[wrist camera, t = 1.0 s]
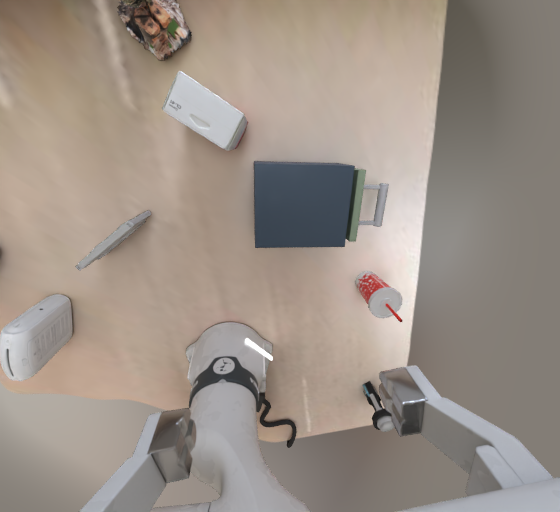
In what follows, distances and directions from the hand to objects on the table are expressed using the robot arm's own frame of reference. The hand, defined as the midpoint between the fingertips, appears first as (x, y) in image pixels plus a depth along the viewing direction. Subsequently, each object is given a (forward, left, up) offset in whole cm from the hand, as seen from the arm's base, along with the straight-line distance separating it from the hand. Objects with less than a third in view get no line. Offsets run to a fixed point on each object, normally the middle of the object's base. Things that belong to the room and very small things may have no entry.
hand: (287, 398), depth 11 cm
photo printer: (-21, +39, -39) cm, 59 cm away
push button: (-47, -28, -39) cm, 68 cm away
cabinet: (+2, -6, -39) cm, 40 cm away
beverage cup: (-15, -22, -39) cm, 48 cm away
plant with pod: (+27, +15, -39) cm, 50 cm away
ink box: (+14, +7, -39) cm, 42 cm away
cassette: (-4, +24, -39) cm, 46 cm away
